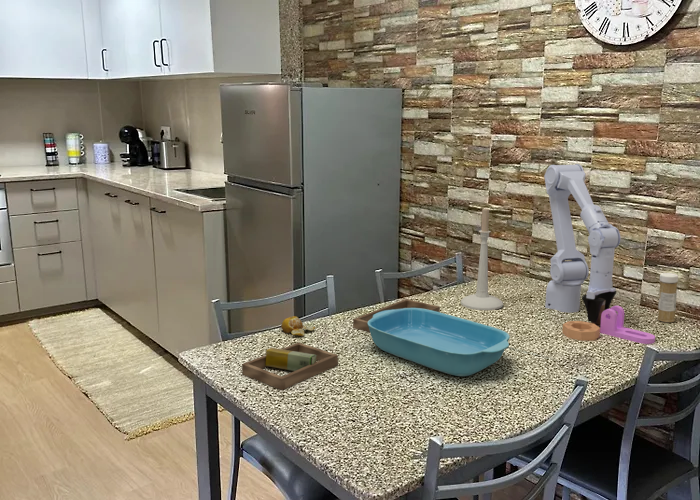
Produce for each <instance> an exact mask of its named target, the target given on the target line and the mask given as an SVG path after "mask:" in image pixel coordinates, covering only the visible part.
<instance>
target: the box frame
mask: <svg viewBox="0 0 700 500" xmlns="http://www.w3.org/2000/svg"><path fill="white" fill-rule="evenodd" d="M282 349H283V350H289V351H295V352H302V353H308V354H315V355H317V357H316V362H315V363H314V364H313V365H308V366H306V367H303V368H301V369H299V370H296V371H292V372H290V373H287V374H285V375H283V376H281V375H279V374H276V373H274V372H270V371H268V370H266V369H265V368H268V367H269V366H266V354H265V355H264V354H263V355H262V356H259V357H257V358H254V359H251V360H249V361H245V362H243V363H242V364H241V370H242V371H241V374H242V376H246V377H247V378H251V379H253V380H256V381H257V382H261V383H263V384H266V385H268V386H271V387H272V388H273V387H274V388H276V389H278V390H280V391H283V390H285V389H288V388H290V387H292V386H294V385H298V384H299V383H301V382H304V381H306V380H308V379H310V378H312V377H314V376H316V375H317V376H318V375H319V374H321V373H324V372H326V371H329V370H330V369H332V368H335V367H337V366H339V355H338V354H335V353H332V352H329V351H326V350H323V349H320V348H317V347H314V346H310V345H308V344H305V343H301V342H297V343H294V344H292V345H291V344H290V345H289V346H285V347H283V348H282Z"/></svg>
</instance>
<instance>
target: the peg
mask: <svg viewBox="0 0 700 500" xmlns="http://www.w3.org/2000/svg"><path fill="white" fill-rule="evenodd" d="M599 299H602V298H599ZM604 310H605V301H604V302H603V304H602V306H601V308H600V312H599V316H598V320H597V322H591V321H590V323H593V324H595V325H597V326H598V327H599V326H600V325H601V314H602V312H603V311H604Z"/></svg>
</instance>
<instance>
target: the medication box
mask: <svg viewBox="0 0 700 500" xmlns="http://www.w3.org/2000/svg"><path fill="white" fill-rule="evenodd" d="M265 355H266V366H268V367H271V368H275V369H281V370H286V371H292V372H294V371H296V370H299V369H301V368H303V367H306V366H308V365H313V364H314V363H315V362H317V360H316V357H317V355H315V354H308V353H302V352H295V351H289V350H283V348H276V347H270V348H267V349H266V350H265Z"/></svg>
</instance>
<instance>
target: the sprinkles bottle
mask: <svg viewBox="0 0 700 500" xmlns="http://www.w3.org/2000/svg"><path fill="white" fill-rule="evenodd" d="M678 281H679V275H678V274H676V273H672V272H662V273H660V274H659V296H658V306H657V309H658V311H657V313H658V314H657V320H658V321H659V322H663V323H674V322H675V321H676V310H677V309H676V308H677V307H676V306H677V296H678V295H677V294H678V293H677V291H678V290H677V287H678Z"/></svg>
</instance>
